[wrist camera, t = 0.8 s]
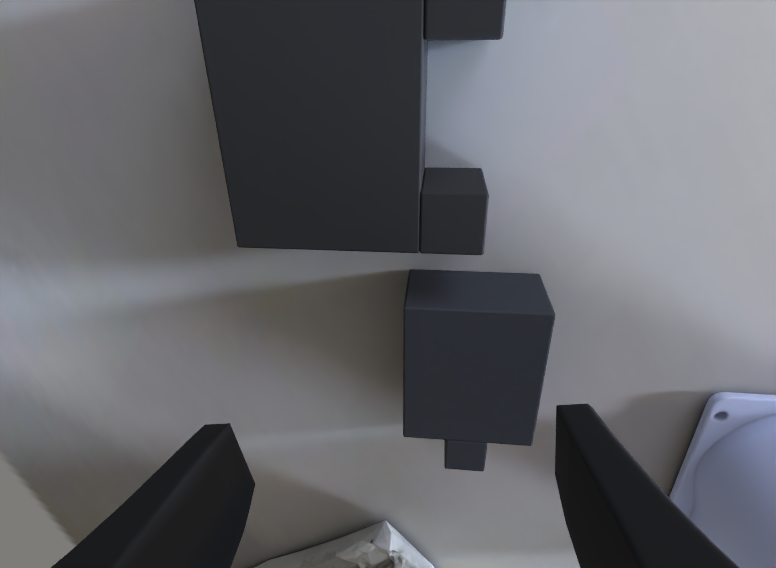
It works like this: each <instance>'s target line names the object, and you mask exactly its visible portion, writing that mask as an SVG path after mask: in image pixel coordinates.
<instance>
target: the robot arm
mask: <svg viewBox="0 0 776 568" xmlns="http://www.w3.org/2000/svg"><path fill="white" fill-rule="evenodd" d="M718 412H721V413H719V414H716V413H718ZM555 475H556V480H557V485H558V489H559V494H560V499H561V503H562V508H563V512H564V516H565V521H566V525H567V528H568V531H569V534H570V537H571V540H572V543H573V546H574V549H575V552H576V555H577V558H578V561H579V564H580V567H581V568H776V395H768V394H750V393H733V392H719V393H716V394H714V395H712V396H711V397H710V398H709V399H708V401H707V404H706V406H705V409H704V411H703V414H702V416H701V419H700V421H699V424H698V426H697V429H696V431H695V434H694V436H693V439H692V441H691V444H690V446H689V449H688V451H687V454H686V456H685V459H684V461H683V464H682V466H681V469H680V471H679V474H678V476H677V479H676V481H675V484H674V487H673V489H672V492H671V494H670V497H668V496H667V495H666V494H665V493H664V492H663V490H662V489H661V488H660V487H659V486H658V485H657V484H656V483H655V482H654V481H653V480H652V478H651V477H650V476H649V475H648V474H647V473H646V472H645V471H644V470H643V469H642V467H641V466H640V465H639V464H638V463H637V462H636V461H635V459H634V458H633V457H632V456H631V455H630V454H629V452H628V451H627V450H626V449H625V448H624V446H623V445H622V444H621V443H620V442H619V441H618V439H617V438H616V437H615V436H614V434H613V433H612V432H611V431H610V429H609V428H608V427H607V426H606V424H605V423H604V422H603V421H602V419H601V418H600V417H599V415H598V414H597V413H596V412H595V410H594V409H593V408H592V407H591V406H590V405H588V404H574V405H557V409H556V456H555ZM254 487H255V482H254V480H253V478H252V475H251V473H250V471H249V468H248V466H247V463H246V461H245V459H244V456H243V454H242V451H241V449H240V447H239V444H238V442H237V440H236V437H235V435H234V432H233V430H232V428H231V425H230V423H229V424H210V425H204V426H203V427H202V428H201V429H200V430H199V431H198V432H197V433H196V434H194V435H193V436H192V437H191V438H190V439H189V440H188V441H187V442H186V443H185V444H184V445H183V446H182V447H181V448H180V449H179V450H178V451H177V452H176V453H175V454H174V455H173V456H172V457H171V458H170V459H169V460H168V461H167V462H166V463H165V464H164V465H163V466H162V467H161V468H160V469H159V470H157V471H156V472H155V473H154V474H153V475H152V476H151V477H150V478H149V479H148V480H147V481H146V482H145V483H144V484H143V485H142V486H141V487H140V488H139V489H138V490H137V491H136V492H135V493H134V494H133V495H132V496H131V497H130V498H128V499H127V500H126V501H125V502H124V503H123V504H122V505H121V506H120V507H119V508H118V509H117V510H116V511H115V512H113V513H112V514H111V515H110V516H109V517H108V518H107V519H106V520H105V521H103V522H102V523H101V524H100V525H99V526H98V527H97V528H96V529H95V530H94V531H92V532H91V533H90V534H89V535H88V536H87V537H86V538H85V539H84V540H82V541H81V542H80V543H79V544H78V545H77V546H76V547H75V548H74V549H72V550H71V551H70V552H69V553H68V554H67V555H66V556H64V557H63V558H62V559H61V560H59V561H58V562H57V563H56V564H55V565H53V566H52V567H51V568H230V567H231V565H232V562H233V559H234V556H235V554H236V551H237V548H238V546H239V543H240V540H241V537H242V534H243V532H244V528H245V525H246V521H247V517H248V513H249V509H250V505H251V500H252V496H253V492H254Z"/></svg>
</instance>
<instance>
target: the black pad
mask: <svg viewBox="0 0 776 568" xmlns="http://www.w3.org/2000/svg"><path fill="white" fill-rule="evenodd" d="M194 2H195V8H196V14H197V19H198V25H199V31H200V36H201V42H202V48H203V53H204V59H205V65H206V70H207V76H208V82H209V87H210V93H211V99H212V104H213V110H214V116H215V121H216V127H217V133H218V138H219V144H220V150H221V155H222V161H223V167H224V172H225V178H226V184H227V189H228V195H229V201H230V206H231V212H232V218H233V223H234V229H235V234H236V240H237V246H238V247H246V248H277V249H308V250H339V251H370V252H400V253H419V251H420V253H431V254H462V255H483V253H484V243H485V232H486V221H487V209H488V198H489V194H488V191H487V187H486V183H485V179H484V176H483V172H482V169H480V168H425V126H426V83H427V41H428V40H499V39H501V38H502V37H503V31H504V20H505V8H506V0H194ZM424 169H425V170H424Z"/></svg>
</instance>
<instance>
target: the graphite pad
mask: <svg viewBox="0 0 776 568" xmlns="http://www.w3.org/2000/svg"><path fill="white" fill-rule="evenodd" d="M554 320H555V313H554V310H553V308H552V305H551V302H550V300H549V297H548V295H547V292H546V290H545V287H544V284H543V282H542V279H541V277H540V275H539V274H524V273H497V272H469V271H441V270H413V269H411V270H410V271H409V277H408V283H407V290H406V297H405V303H404V370H403V435H404V437H415V438H429V439H443V440H445V468H446V469H459V470H472V471H484V467H485V458H486V450H487V443H498V444H512V445H526V446H531V445H532V442H533V436H534V431H535V425H536V420H537V414H538V409H539V403H540V397H541V392H542V386H543V381H544V375H545V370H546V364H547V359H548V353H549V347H550V342H551V336H552V331H553V325H554Z"/></svg>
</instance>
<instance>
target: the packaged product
mask: <svg viewBox="0 0 776 568" xmlns="http://www.w3.org/2000/svg"><path fill="white" fill-rule="evenodd" d="M254 568H435V567H434V566H433V565H432V564H431V563H430V562H429V561H427V560H426V559H425V558H424V557H423V556H422V555H421V554H420V553H419V552H418V551H417V550H416V549H415V548H414V547H413V546H412V545H411V544H410V543H409V542H408V541H407V540H406V539H405V538H404V537H403V536H402V535H401V534H399V533H398V532H397V531H396V530H395V529H394V528H393V527H392V526H391V525H390V524H389V523H388V522H387V521H386V520H384V521H382V522H379V523H377V524H374V525H372V526H369V527H367V528H364V529H362V530H359V531H357V532H354V533H352V534H349V535H347V536H344V537H341V538H338V539H335V540H332V541H329V542H326V543H323V544H320V545H317V546H314V547H311V548H308V549H305V550H302V551H299V552H295V553H292V554H288V555H285V556H281V557H278V558H274V559H271V560H268V561H266V562H264V563H262V564H260V565H258V566H256V567H254Z"/></svg>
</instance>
